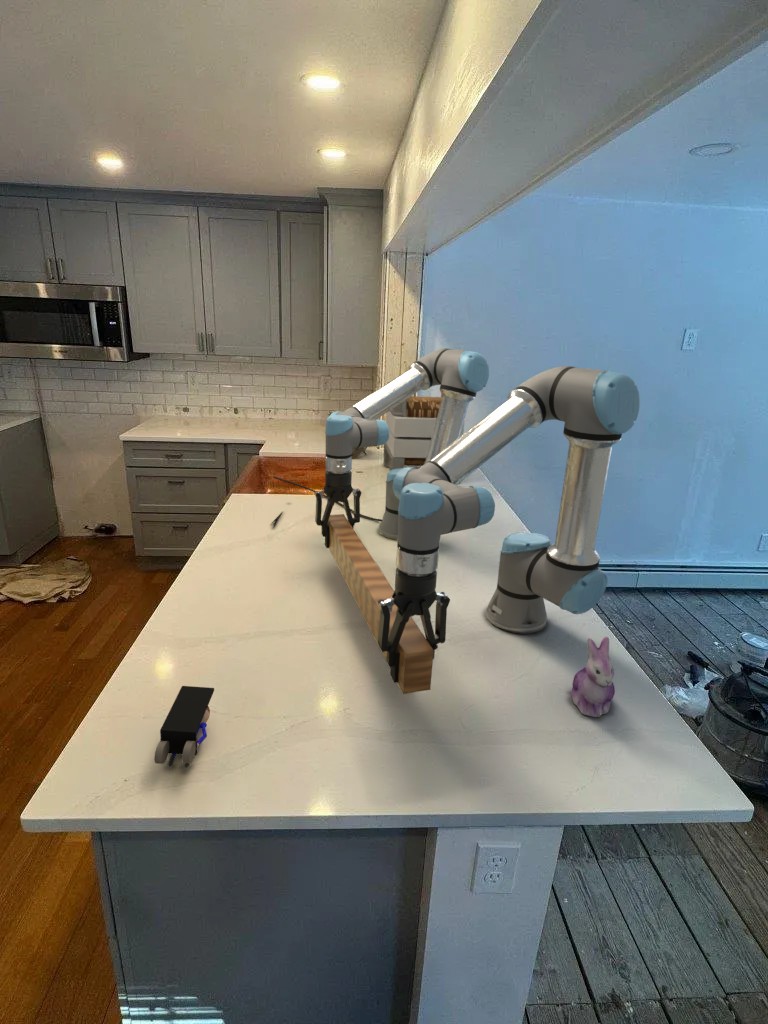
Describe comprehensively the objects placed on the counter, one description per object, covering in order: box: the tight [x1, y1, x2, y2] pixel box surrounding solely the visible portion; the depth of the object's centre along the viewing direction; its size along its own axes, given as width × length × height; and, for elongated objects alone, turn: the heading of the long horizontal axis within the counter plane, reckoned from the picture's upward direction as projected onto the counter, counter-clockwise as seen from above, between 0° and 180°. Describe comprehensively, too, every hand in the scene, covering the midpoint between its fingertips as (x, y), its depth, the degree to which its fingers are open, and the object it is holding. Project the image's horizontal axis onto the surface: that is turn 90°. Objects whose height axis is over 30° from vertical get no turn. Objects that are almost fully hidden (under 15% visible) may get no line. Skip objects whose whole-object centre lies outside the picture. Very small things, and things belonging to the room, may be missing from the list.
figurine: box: [570, 636, 616, 718], centre depth 114 cm, size 9×10×15 cm
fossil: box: [352, 447, 368, 459], centre depth 303 cm, size 22×10×15 cm
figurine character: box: [153, 685, 215, 768], centre depth 100 cm, size 7×8×15 cm
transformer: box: [383, 392, 465, 471], centre depth 268 cm, size 34×33×41 cm
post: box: [328, 513, 434, 695], centre depth 139 cm, size 74×6×9 cm, turn 17°
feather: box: [270, 512, 283, 529], centre depth 212 cm, size 2×28×2 cm
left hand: (337, 545), depth 169 cm, fingers closed on post, 6 cm apart
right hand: (409, 675), depth 111 cm, fingers closed on post, 6 cm apart
